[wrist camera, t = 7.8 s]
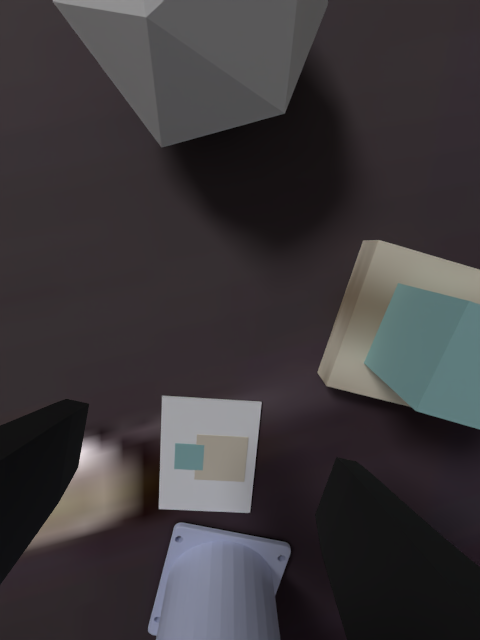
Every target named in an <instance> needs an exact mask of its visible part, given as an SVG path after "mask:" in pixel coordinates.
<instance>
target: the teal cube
mask: <svg viewBox="0 0 480 640" xmlns="http://www.w3.org/2000/svg"><path fill="white" fill-rule="evenodd" d="M364 364H365V365H366V366H368V367H369V368H370V369H371V370H372V371H373V372H374V373H375V374H376V375H377V376H378V377H379V378H381V379H382V380H383V381H384V382H385V383H386V384H387V385H388V386H389V387H390V388H391V389H392V390H393V391H395V392H396V393H397V394H398V395H399V396H400V397H401V398H402V399H403V400H404V401H405V402H406V403H408V404H409V405H410V406H411V407H412V408H413V409H414V410H415V411H417V412H421V413H424V414H428V415H431V416H435V417H438V418H442V419H445V420H449V421H452V422H456V423H459V424H462V425H466V426H469V427H473V428H476V429H480V304H477V303H474V302H471V301H467V300H463V299H459V298H455V297H451V296H447V295H443V294H440V293H436V292H432V291H428V290H424V289H420V288H416V287H412V286H408V285H404V284H400V283H398V285H397V287H396V289H395V291H394V294H393V296H392V298H391V301H390V303H389V305H388V308H387V310H386V312H385V315H384V317H383V319H382V322H381V324H380V326H379V329H378V331H377V333H376V336H375V338H374V340H373V343H372V345H371V347H370V350H369V352H368V354H367V357H366V359H365V361H364Z"/></svg>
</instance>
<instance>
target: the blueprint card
mask: <svg viewBox="0 0 480 640" xmlns="http://www.w3.org/2000/svg"><path fill="white" fill-rule="evenodd" d="M261 405H262V402H259V401H242V400H226V399H210V398H193V397H177V396H162V418H161V452H160V485H159V509H172V510H195V511H218V512H240V513H250V509H251V500H252V490H253V481H254V471H255V462H256V452H257V443H258V433H259V424H260V414H261Z"/></svg>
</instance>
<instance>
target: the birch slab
mask: <svg viewBox="0 0 480 640" xmlns="http://www.w3.org/2000/svg"><path fill="white" fill-rule="evenodd" d="M398 283H400V284H404V285H408V286H412V287H416V288H420V289H424V290H428V291H432V292H436V293H440V294H443V295H447V296H451V297H455V298H459V299H463V300H467V301H471V302H474V303H477V304H480V270H479V269H475V268H472V267H469V266H465V265H462V264H458V263H455V262H452V261H448V260H445V259H441V258H438V257H435V256H431V255H428V254H424V253H421V252H418V251H414V250H411V249H408V248H404V247H401V246H397V245H394V244H391V243H387V242H384V241H380V240H368V241H363V243H362V246H361V249H360V251H359V254H358V257H357V260H356V263H355V266H354V269H353V272H352V274H351V277H350V280H349V283H348V286H347V289H346V292H345V295H344V298H343V300H342V303H341V306H340V309H339V312H338V315H337V318H336V321H335V323H334V326H333V329H332V332H331V335H330V338H329V341H328V344H327V346H326V349H325V352H324V355H323V358H322V361H321V364H320V367H319V370H318V372H317V373H318V374H319V376H320V377H321V379H322V380H323V382H324V383H325V384H326V386H328V387H332V388H336V389H340V390H344V391H348V392H352V393H356V394H361V395H365V396H369V397H373V398H377V399H381V400H385V401H389V402H393V403H397V404H401V405H405V406H409V407H411V406H410V405H409V404H408V403H406V402H405V401H404V400H403V399H402V398H401V397H400V396H399V395H398V394H397V393H396V392H395V391H393V390H392V389H391V388H390V387H389V386H388V385H387V384H386V383H385V382H384V381H383V380H382V379H381V378H379V377H378V376H377V375H376V374H375V373H374V372H373V371H372V370H371V369H370V368H369V367H368V366H366V365H365V364H364V361H365V359H366V357H367V354H368V352H369V350H370V347H371V345H372V343H373V340H374V338H375V336H376V333H377V331H378V329H379V326H380V324H381V322H382V319H383V317H384V315H385V312H386V310H387V308H388V305H389V303H390V301H391V298H392V296H393V294H394V291H395V289H396V287H397V285H398Z"/></svg>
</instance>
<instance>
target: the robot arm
mask: <svg viewBox="0 0 480 640" xmlns="http://www.w3.org/2000/svg"><path fill="white" fill-rule="evenodd" d="M88 407H89V404H87V403H83V402H78V401H74V400H69V399H65V400H62V401H59V402H57V403H54V404H52V405H49V406H47V407H44V408H42V409H40V410H37V411H35V412H32V413H30V414H28V415H25V416H23V417H20V418H18V419H16V420H13V421H11V422H8V423H6V424H3V425H1V426H0V584H1V583H2V581H3V580H4V579H5V577H6V576H7V574H8V573H9V572H10V570H11V569H12V567H13V566H14V565H15V563H16V562H17V560H18V559H19V558H20V556H21V555H22V553H23V552H24V551H25V549H26V548H27V547H28V545H29V544H30V542H31V541H32V540H33V538H34V537H35V535H36V534H37V533H38V531H39V530H40V528H41V527H42V525H43V524H44V523H45V521H46V520H47V518H48V517H49V516H50V514H51V513H52V511H53V510H54V508H55V507H56V506H57V504H58V502H59V501H60V499H61V497H62V495H63V494H64V492H65V490H66V489H67V487H68V485H69V483H70V481H71V479H72V478H73V476H74V474H75V472H76V470H77V468H78V465H79V459H80V453H81V447H82V441H83V436H84V430H85V424H86V418H87V413H88ZM315 516H316V523H317V529H318V535H319V541H320V546H321V551H322V556H323V559H324V563H325V566H326V570H327V573H328V577H329V580H330V584H331V587H332V590H333V594H334V597H335V600H336V604H337V607H338V610H339V614H340V617H341V620H342V624H343V627H344V630H345V634H346V637H347V640H480V567H479V566H478V565H476V564H475V563H474V562H473V561H471V560H470V559H469V558H468V557H466V556H465V555H464V554H463V553H462V552H460V551H459V550H458V549H457V548H456V547H454V546H453V545H452V544H451V543H450V542H448V541H447V540H446V539H445V538H444V537H442V536H441V535H440V534H439V533H438V532H437V531H435V530H434V529H433V528H432V527H431V526H430V525H428V524H427V523H426V522H425V521H424V520H423V519H422V518H421V517H419V516H418V515H417V514H416V513H415V512H414V511H413V510H412V509H410V508H409V507H408V506H407V505H406V504H405V503H404V502H403V501H401V500H400V499H399V498H398V497H397V496H396V495H395V494H394V493H393V492H391V491H390V490H389V489H388V488H387V487H386V486H385V485H384V484H383V483H381V482H380V481H379V480H378V479H377V478H376V477H375V476H373V475H372V474H371V473H370V472H369V471H368V470H366V469H365V468H364V467H363V466H361V465H360V464H359V463H357V462H356V461H351V460H346V459H342V458H337V457H336V460H335V463H334V465H333V468H332V471H331V474H330V476H329V479H328V482H327V484H326V487H325V490H324V492H323V495H322V498H321V501H320V503H319V506H318V509H317V511H316V514H315ZM177 536H181V537H177ZM290 553H291V549H290V545H289V544H288V543H287V542H283V541H278V540H272V539H267V538H262V537H257V536H251V535H246V534H241V533H236V532H230V531H225V530H220V529H214V528H209V527H204V526H199V525H193V524H188V523H181V522H180V523H177V524H176V525H175V526H174V529H173V533H172V537H171V541H170V545H169V549H168V553H167V556H166V560H165V564H164V568H163V572H162V576H161V580H160V583H159V587H158V591H157V595H156V599H155V603H154V607H153V610H152V614H151V618H150V622H149V626H148V631H149V633H150V634H152V635H156V636H157V637H156V640H280V632H279V625H278V617H277V609H276V601H275V595H276V592H277V589H278V587H279V584H280V581H281V578H282V576H283V573H284V570H285V567H286V565H287V562H288V559H289V556H290ZM280 555H282V556H280Z"/></svg>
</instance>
